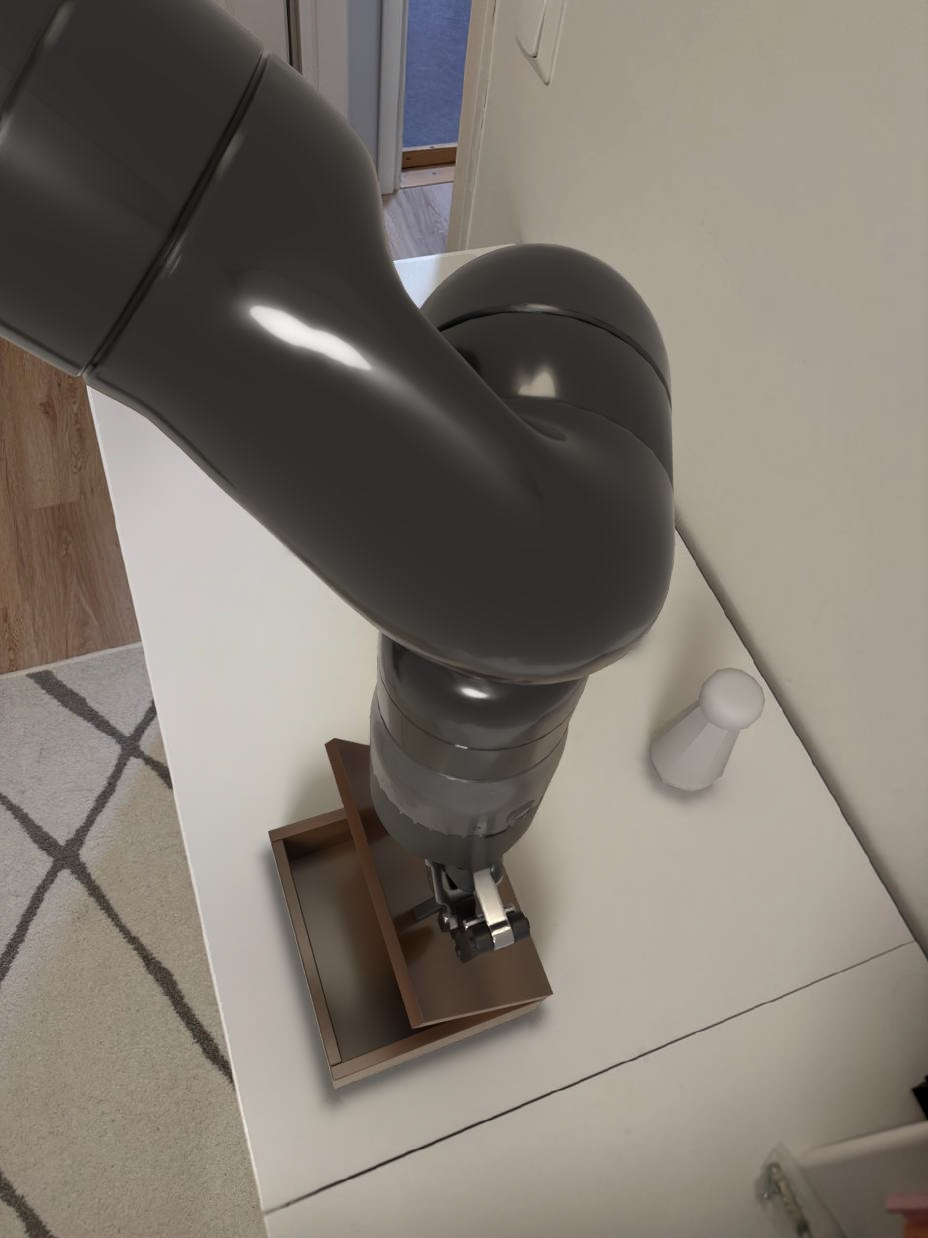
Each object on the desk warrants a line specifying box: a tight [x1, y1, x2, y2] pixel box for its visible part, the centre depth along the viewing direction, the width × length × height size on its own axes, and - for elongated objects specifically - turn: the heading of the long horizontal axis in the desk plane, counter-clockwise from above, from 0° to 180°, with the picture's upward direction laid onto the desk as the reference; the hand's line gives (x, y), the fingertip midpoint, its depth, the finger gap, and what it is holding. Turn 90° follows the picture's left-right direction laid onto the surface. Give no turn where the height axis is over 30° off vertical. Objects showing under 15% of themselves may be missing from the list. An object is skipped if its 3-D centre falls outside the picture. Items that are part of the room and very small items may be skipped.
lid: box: [324, 737, 554, 1028], centre depth 52 cm, size 14×16×5 cm
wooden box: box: [267, 807, 547, 1090], centre depth 59 cm, size 14×16×6 cm
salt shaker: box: [649, 667, 766, 792], centre depth 65 cm, size 6×6×13 cm
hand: (437, 863), depth 50 cm, fingers closed on lid, 6 cm apart
